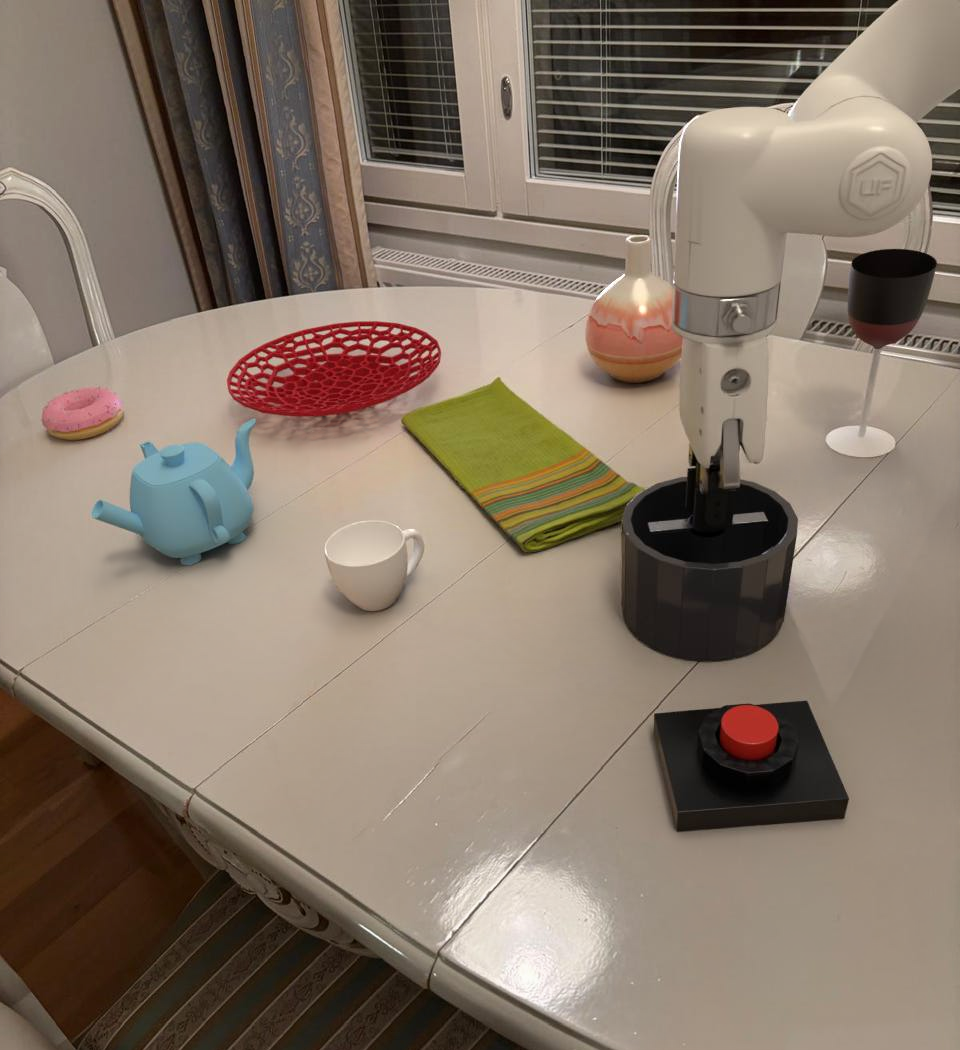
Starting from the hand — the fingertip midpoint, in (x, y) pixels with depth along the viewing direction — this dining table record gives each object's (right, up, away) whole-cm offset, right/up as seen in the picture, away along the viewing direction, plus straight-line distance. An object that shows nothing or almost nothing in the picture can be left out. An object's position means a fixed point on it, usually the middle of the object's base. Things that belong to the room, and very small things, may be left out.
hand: (708, 516), depth 78 cm
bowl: (-39, +23, +50) cm, 67 cm away
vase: (+2, +26, +46) cm, 53 cm away
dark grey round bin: (+1, -8, +7) cm, 10 cm away
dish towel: (-16, +10, +30) cm, 36 cm away
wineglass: (+24, +12, +27) cm, 38 cm away
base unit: (0, -21, -9) cm, 22 cm away
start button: (0, -18, -11) cm, 21 cm away
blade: (0, -1, +1) cm, 1 cm away
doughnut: (-75, +19, +51) cm, 92 cm away
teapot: (-51, +1, +25) cm, 57 cm away
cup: (-29, -6, +13) cm, 32 cm away
